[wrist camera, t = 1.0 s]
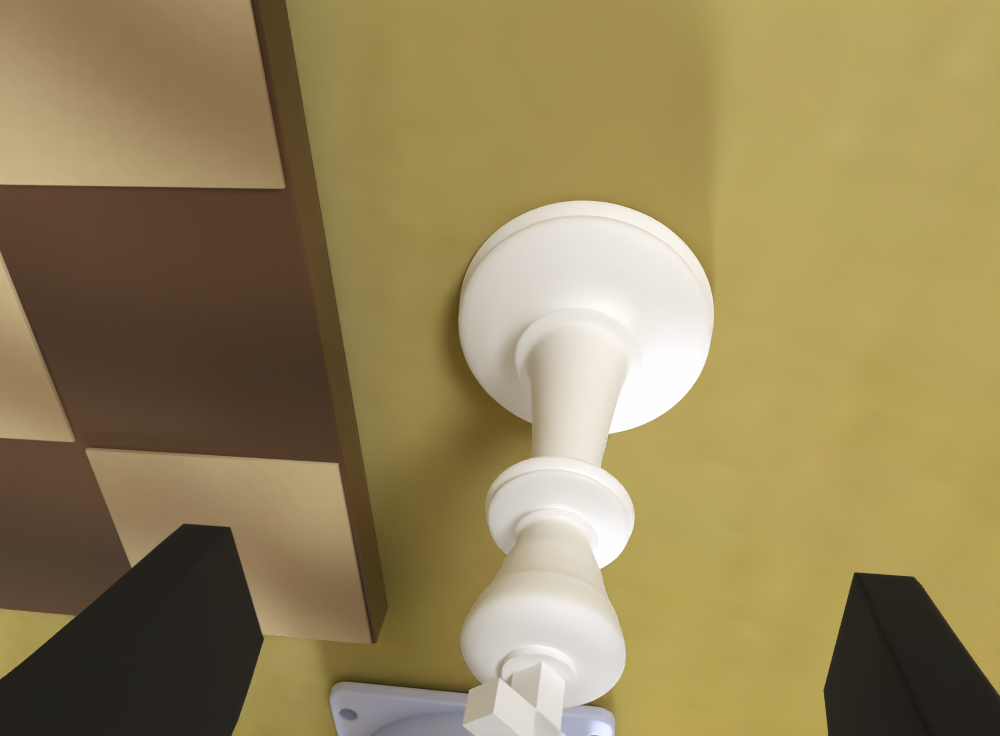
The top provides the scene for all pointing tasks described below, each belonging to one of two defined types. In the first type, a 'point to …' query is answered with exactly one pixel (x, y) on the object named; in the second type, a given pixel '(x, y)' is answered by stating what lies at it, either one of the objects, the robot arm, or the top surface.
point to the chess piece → (568, 439)
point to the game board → (171, 314)
